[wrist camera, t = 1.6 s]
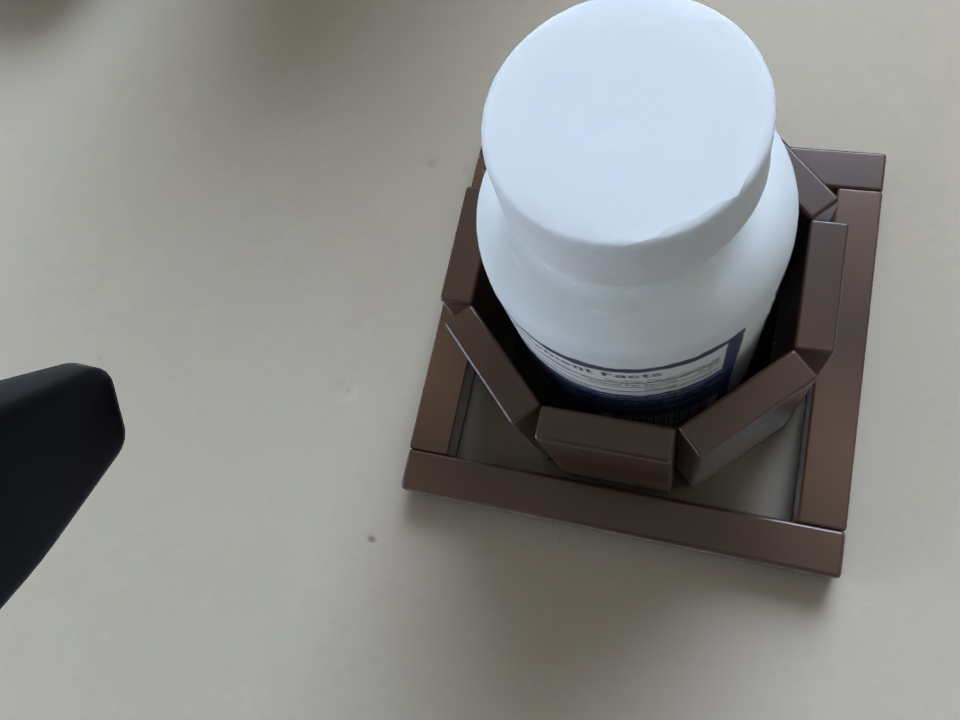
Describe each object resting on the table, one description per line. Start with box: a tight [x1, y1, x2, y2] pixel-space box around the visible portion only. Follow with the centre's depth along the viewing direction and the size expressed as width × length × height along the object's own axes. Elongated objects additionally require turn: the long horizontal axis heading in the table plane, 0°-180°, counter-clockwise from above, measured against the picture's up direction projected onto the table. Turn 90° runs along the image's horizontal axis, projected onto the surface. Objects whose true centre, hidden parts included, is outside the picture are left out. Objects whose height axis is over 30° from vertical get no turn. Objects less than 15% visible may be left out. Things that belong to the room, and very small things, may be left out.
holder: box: [402, 139, 886, 579], centre depth 18 cm, size 10×10×4 cm
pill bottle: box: [476, 0, 799, 429], centre depth 15 cm, size 5×5×10 cm
